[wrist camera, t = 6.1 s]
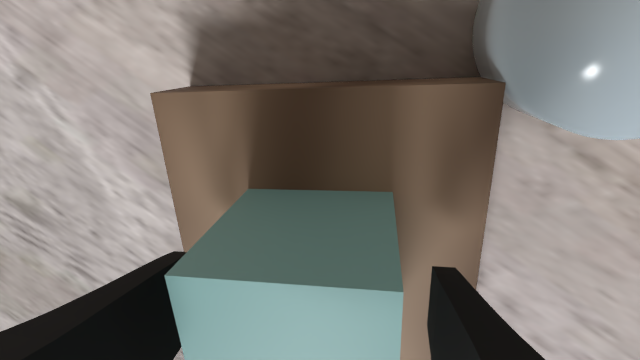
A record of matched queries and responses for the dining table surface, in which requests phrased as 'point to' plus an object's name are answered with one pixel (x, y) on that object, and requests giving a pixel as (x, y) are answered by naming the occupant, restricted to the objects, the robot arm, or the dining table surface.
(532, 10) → the pale blue soap bar
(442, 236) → the walnut base
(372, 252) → the teal cube
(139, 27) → the dining table surface
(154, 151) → the dining table surface
